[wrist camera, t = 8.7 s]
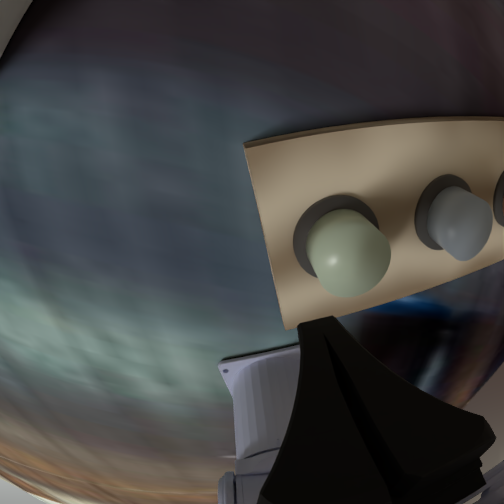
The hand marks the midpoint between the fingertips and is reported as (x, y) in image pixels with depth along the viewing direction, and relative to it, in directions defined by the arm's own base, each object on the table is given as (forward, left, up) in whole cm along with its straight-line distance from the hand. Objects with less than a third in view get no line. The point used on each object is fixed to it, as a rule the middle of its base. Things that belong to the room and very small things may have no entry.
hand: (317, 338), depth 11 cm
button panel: (0, -11, -10) cm, 15 cm away
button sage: (0, -3, -6) cm, 7 cm away
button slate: (0, -11, -6) cm, 13 cm away
